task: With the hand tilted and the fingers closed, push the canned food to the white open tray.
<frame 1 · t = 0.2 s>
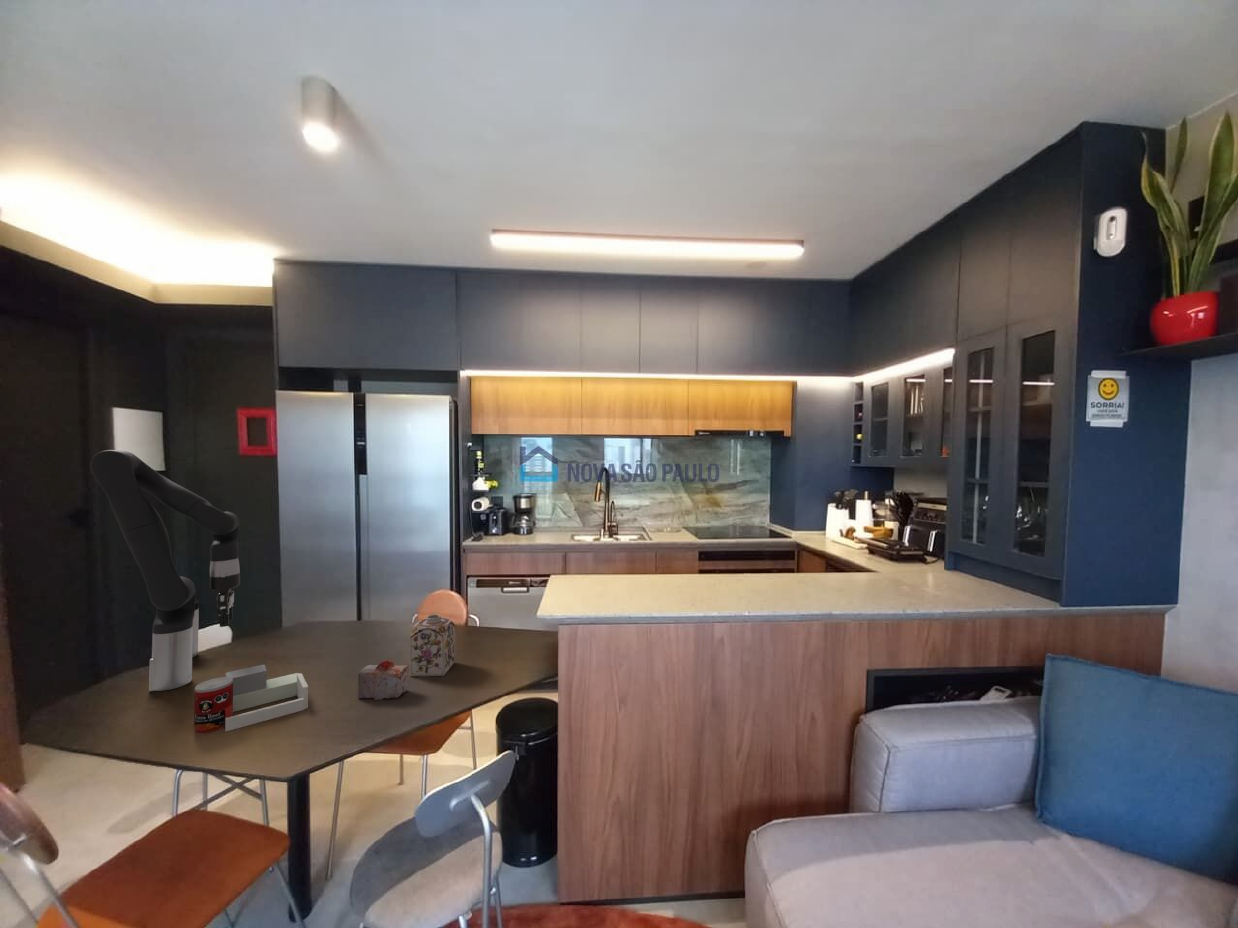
hand: (226, 622, 155), 17 cm above the table, tool pointing down, fingers open, 8 cm apart
white open tray: (279, 707, 135), on the table
food item: (383, 696, 142), on the table
canned food: (213, 725, 125), on the table
travel mug: (186, 656, 172), on the table
decorative jar: (432, 670, 161), on the table
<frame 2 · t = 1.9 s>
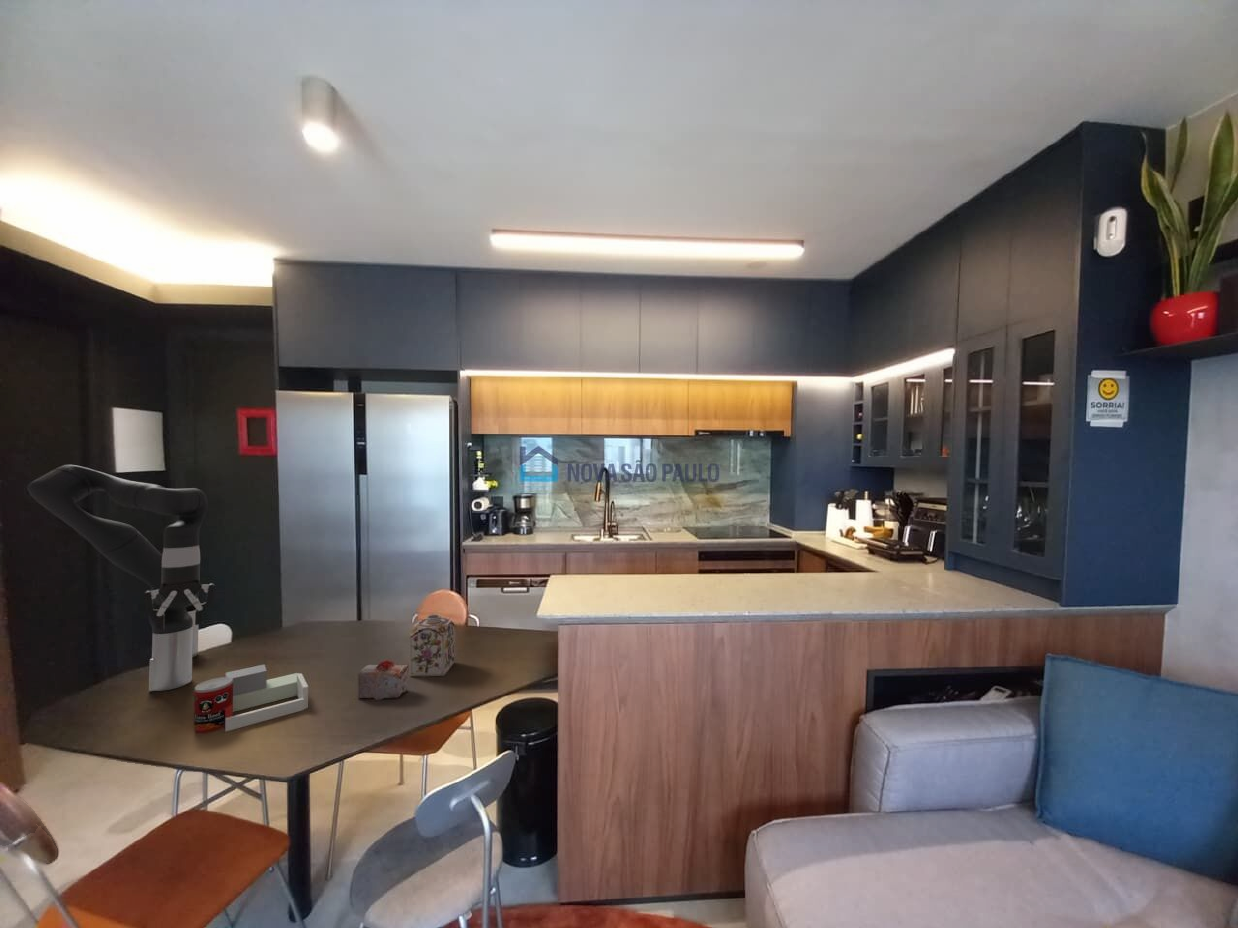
hand: (179, 626, 126), 26 cm above the table, tool pointing down, fingers open, 6 cm apart
nothing on the table moved.
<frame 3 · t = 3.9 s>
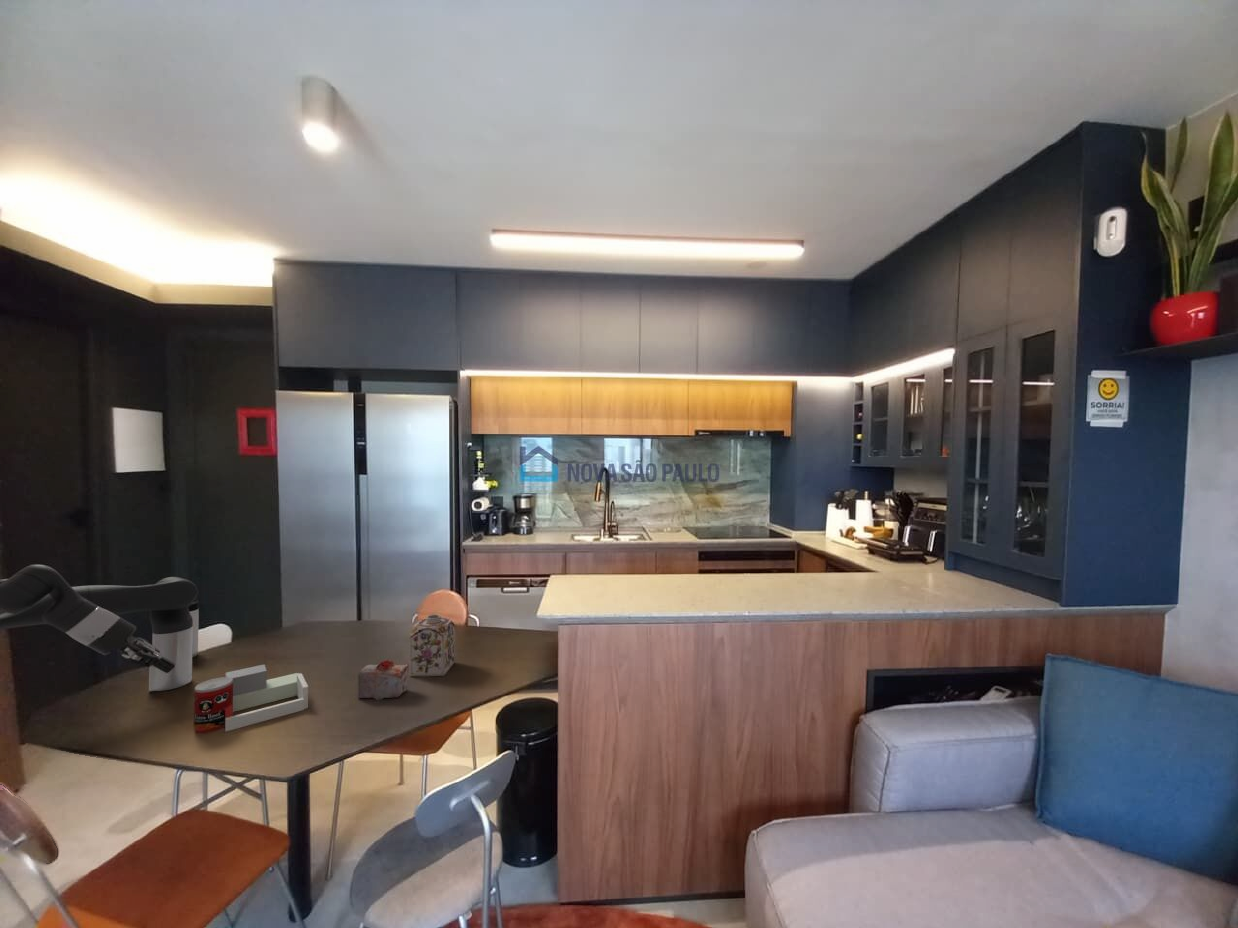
hand: (171, 668, 120), 17 cm above the table, tool tilted 45°, fingers closed
nothing on the table moved.
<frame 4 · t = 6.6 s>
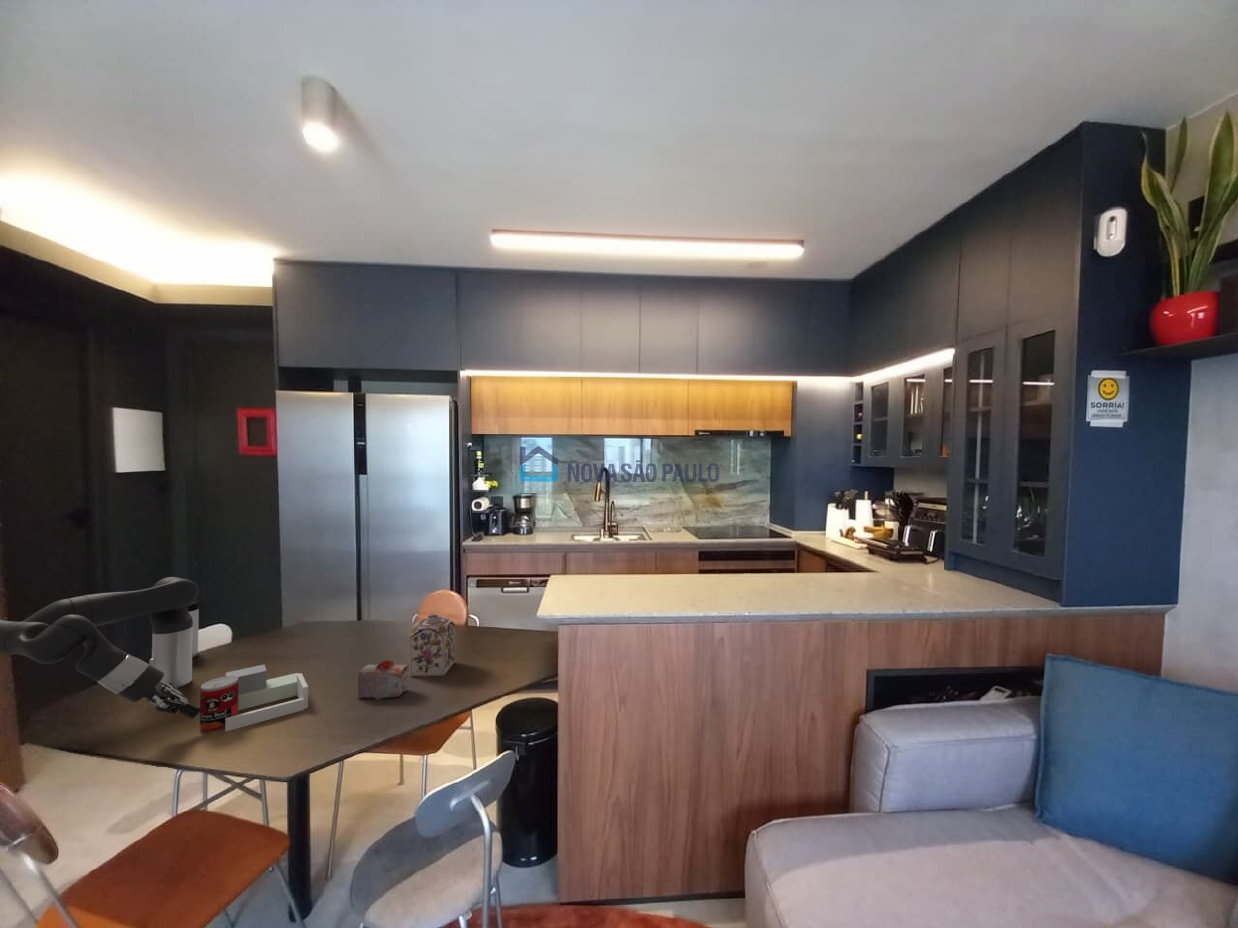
hand: (196, 713, 122), 4 cm above the table, tool tilted 45°, fingers closed
canned food: (219, 724, 126), on the table, touching gripper
everything else where it was.
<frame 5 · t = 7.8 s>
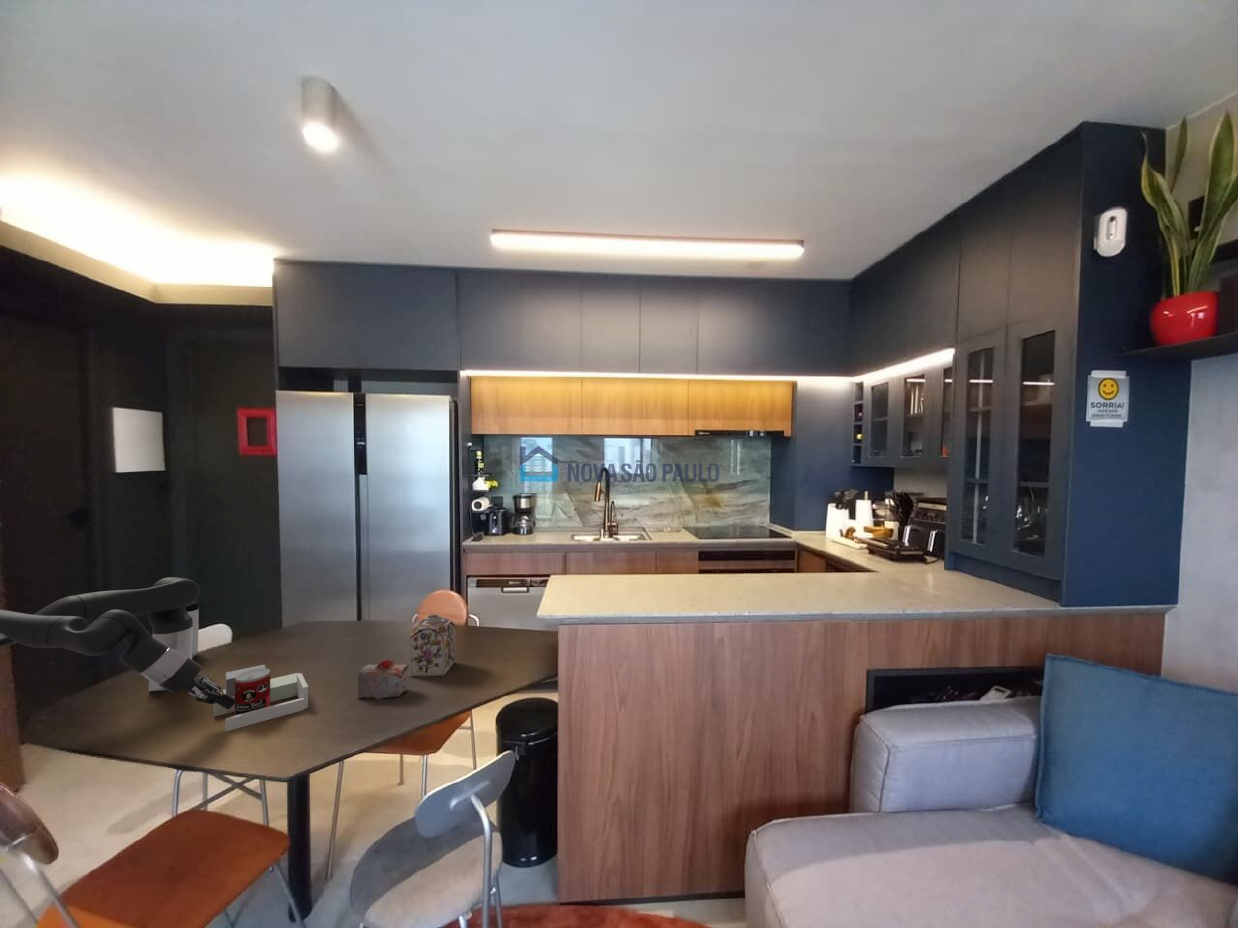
hand: (232, 704, 127), 4 cm above the table, tool tilted 45°, fingers closed
canned food: (252, 715, 131), on the table, touching gripper
everything else where it was.
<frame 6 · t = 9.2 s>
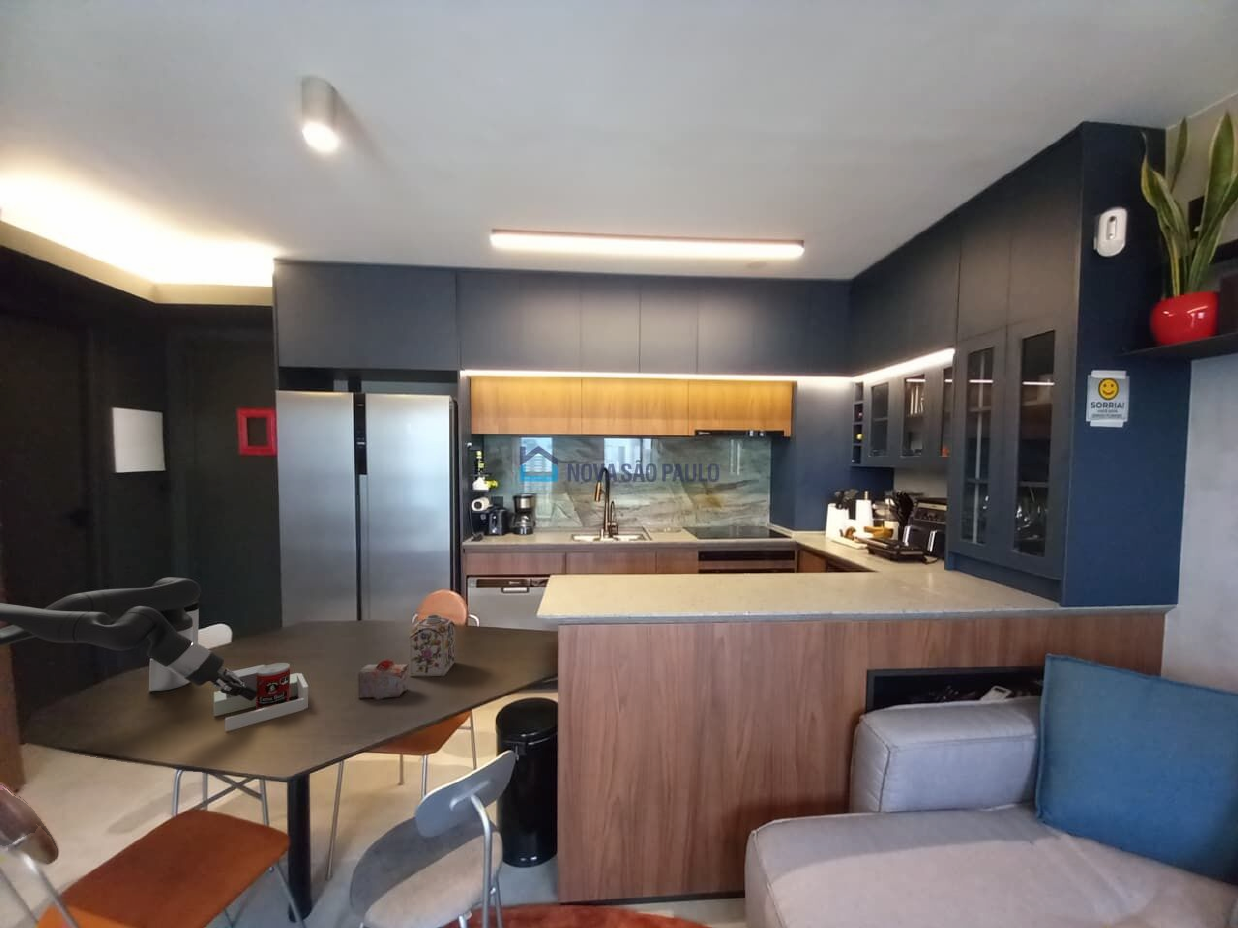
hand: (254, 696, 131), 5 cm above the table, tool tilted 45°, fingers closed
canned food: (272, 707, 135), on the table, touching gripper
everything else where it was.
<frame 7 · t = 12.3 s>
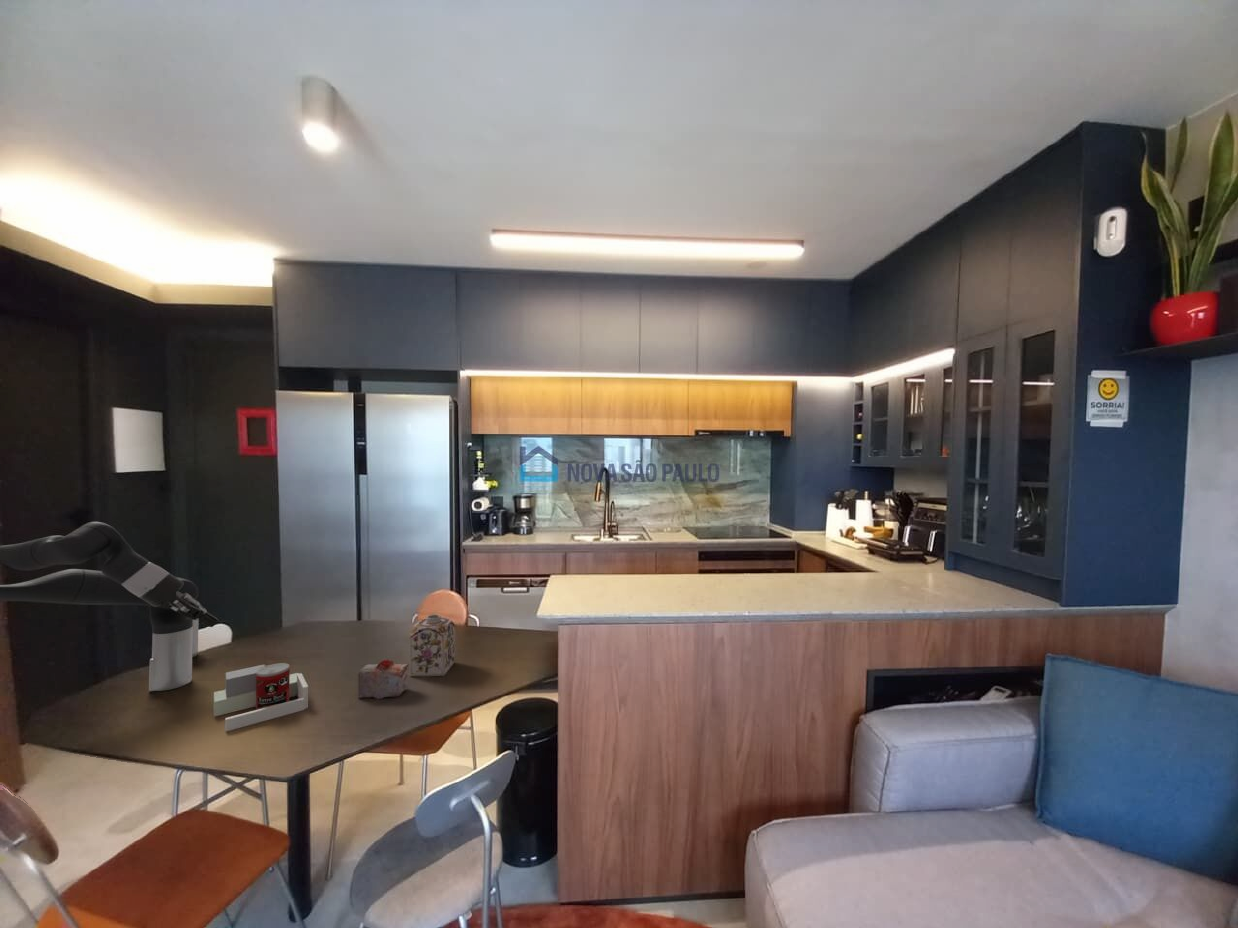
hand: (215, 623, 128), 26 cm above the table, tool tilted 45°, fingers closed
canned food: (272, 708, 135), on the table
everything else where it was.
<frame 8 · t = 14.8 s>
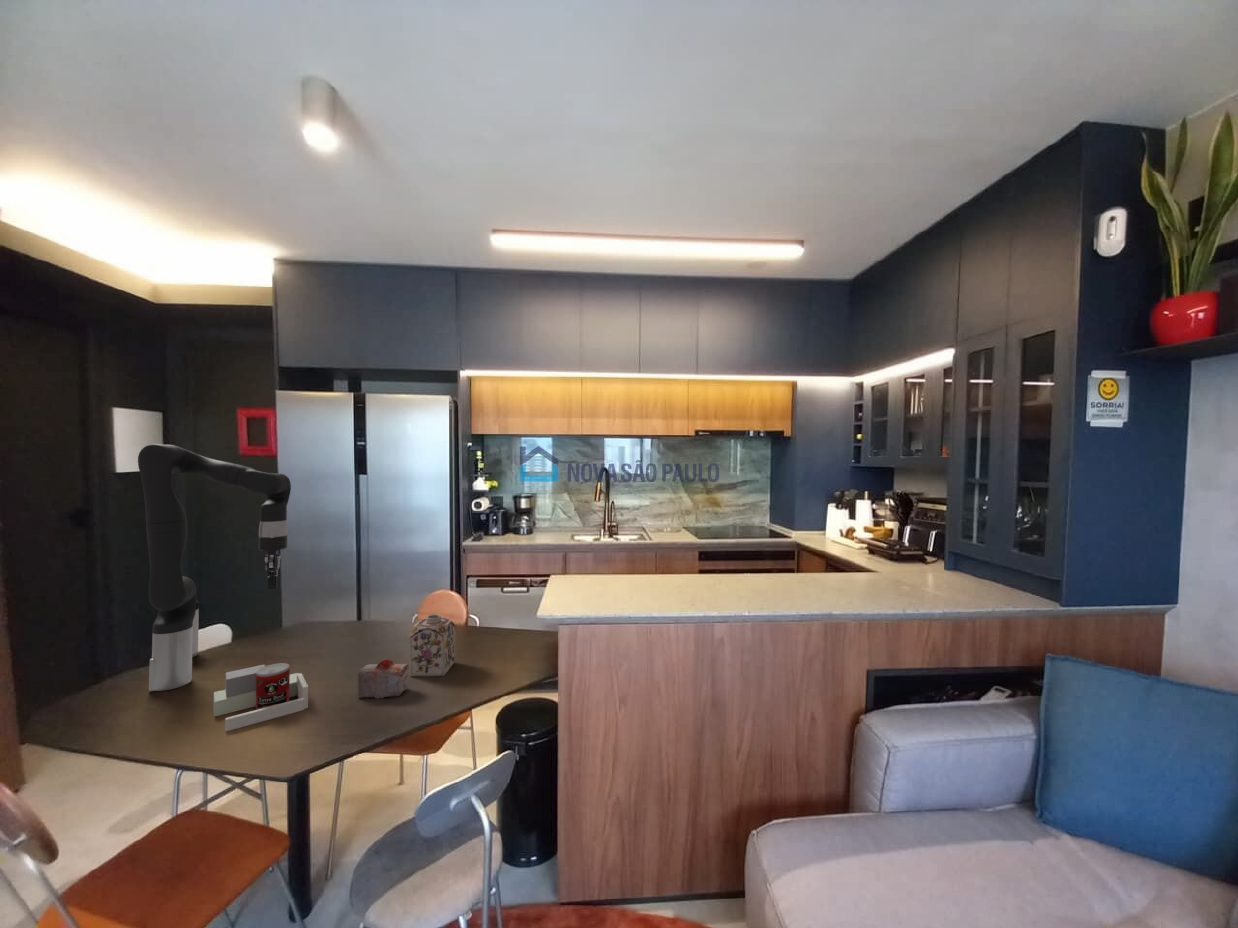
hand: (272, 588, 154), 29 cm above the table, tool pointing down, fingers closed
nothing on the table moved.
at the end: canned food 2.0 cm from the white open tray (horizontally); canned food tilted 0°; the gripper is holding nothing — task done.
